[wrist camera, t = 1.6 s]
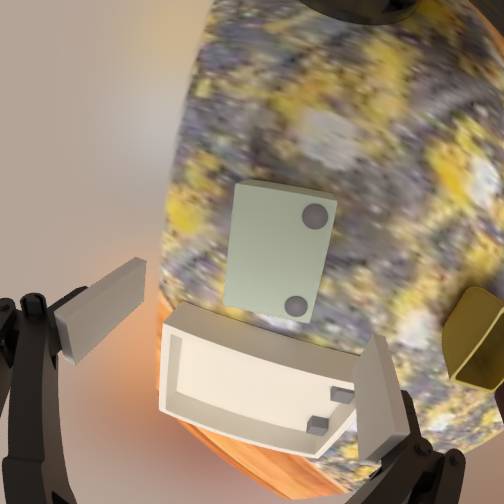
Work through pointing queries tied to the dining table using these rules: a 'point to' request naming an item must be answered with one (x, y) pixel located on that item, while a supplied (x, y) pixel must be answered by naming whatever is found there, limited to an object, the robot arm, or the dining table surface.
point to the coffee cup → (500, 399)
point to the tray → (254, 383)
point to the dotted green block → (277, 248)
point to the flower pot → (475, 341)
